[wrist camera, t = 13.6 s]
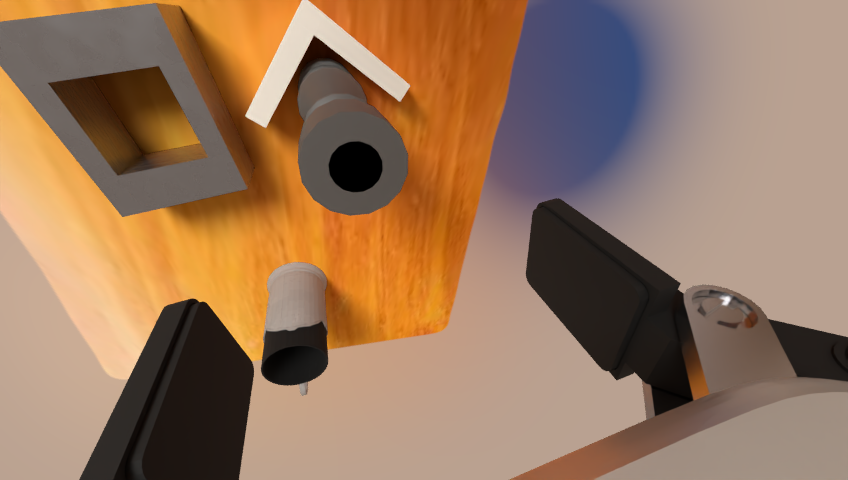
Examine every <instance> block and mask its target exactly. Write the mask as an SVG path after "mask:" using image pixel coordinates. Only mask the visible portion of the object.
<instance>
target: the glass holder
mask: <svg viewBox="0 0 848 480" xmlns="http://www.w3.org/2000/svg"><path fill="white" fill-rule="evenodd" d="M326 286H327V279H326V276H325V274H324V273H323V272H322V270H320V269H319V268H318V267H316V266H314V265H312V264H308V263H303V262H294V263H288V264H285V265H283V266H281V267H279V268H277V269H276V270H274V271H273V272H272V273H271V275H270V276H269V279H268V282H267V288H268V291H269V299H268V307H267V315H266V322H265V330H264V337H263V341H264V350H263V357H262V366H261V372H262V375H263V376H264V377H265V378H266V379H267V380H268V381H270V382H272V383H275V384H278V385H297V384H299V386H300V393H301V395H302V396H303V395H306V394H307V390H308V381H311V380H313V379H315V378H316V377H318V376H319V375H321V374H322V373H323V372H324V370H325V369H326V367H327V365H328V351H327V334H328V331H327V317H326V303H325V289H326Z"/></svg>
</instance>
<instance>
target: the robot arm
mask: <svg viewBox="0 0 848 480" xmlns="http://www.w3.org/2000/svg"><path fill="white" fill-rule="evenodd" d="M526 278H527V281H528V282H529V284H530V285H531V287H532V288H533V289H534V290H535V291H536V292H537V294H538V295H539V296H540V297H541V298H542V300H543V301H544V302H545V303H546V304H547V305H548V307H549V308H550V309H551V310H552V311H553V312H554V314H555V315H556V316H557V317H558V318H559V319H560V321H561V322H562V323H563V324H564V325H565V326H566V328H567V329H568V330H569V331H570V332H571V333H572V335H573V336H574V337H575V338H576V339H577V341H578V342H579V343H580V344H581V345H582V347H583V348H584V349H585V350H586V351H587V352H588V354H589V355H590V356H591V357H592V358H593V360H594V361H595V362H596V363H597V364H598V365H599V366H600V367H601V368H602V369H603V370H605V371H609V372H610V373H611V374H612V375H613V377H614V378H615V379H616V380H619V379H621V378H624V377H626V376H629V375H631V374H633V373H634V372H635V373H636V374H637V375H638V376H639V377H640V378H641V379H642V384H643V393H644V401H645V410H646V418H647V420H645V421H643V422H641V423H638V424H636V425H634V426H632V427H629V428H627V429H625V430H622V431H620V432H618V433H616V434H613V435H611V436H608V437H606V438H604V439H602V440H599V441H597V442H595V443H592V444H590V445H588V446H585V447H583V448H581V449H579V450H576V451H574V452H572V453H569V454H567V455H565V456H563V457H560V458H558V459H555V460H553V461H551V462H549V463H546V464H544V465H542V466H539V467H537V468H535V469H533V470H530V471H528V472H526V473H524V474H521V475H519V476H517V477H514V478H512V479H510V480H848V337H844V336H840V335H836V334H831V333H827V332H822V331H818V330H814V329H809V328H805V327H800V326H796V325H792V324H787V323H783V322H779V321H774V320H770V319H768V318H767V316H766V315H765V314H764V312H763V311H762V310H761V308H760V307H759V306H757V305H756V304H755V303H754V302H752V301H751V300H750V299H748V298H746V297H745V296H742V295H741V294H739V293H737V292H734V291H732V290H729V289H727V288H722V287H718V286H713V285H698V286H693V287H691V288H689V289H687V290H686V292H685V293H684V294H683V293H682V292H680V291H679V290H678V288H679V285H680V283H679V282H678V281H677V280H675V279H674V278H672V277H671V276H669V275H668V274H667V273H665V272H664V271H662V270H661V269H659V268H658V267H657V266H655V265H654V264H652V263H651V262H649V261H648V260H647V259H645V258H644V257H642V256H641V255H639V254H638V253H637V252H635V251H634V250H632V249H631V248H629V247H628V246H627V245H625V244H624V243H622V242H621V241H620V240H618V239H617V238H615V237H614V236H612V235H611V234H610V233H608V232H607V231H605V230H604V229H602V228H601V227H599V226H598V225H597V224H595V223H594V222H592V221H591V220H589V219H588V218H587V217H585V216H584V215H582V214H581V213H580V212H578V211H577V210H575V209H574V208H572V207H571V206H569V205H568V204H567V203H565V202H564V201H562V200H561V199H553V200H549V201H545V202H542V203H539V204H538V206H537V209H535V210H534V211H533V215H532V224H531V233H530V242H529V252H528V259H527V268H526ZM253 377H254V368H253V364H252V361H251V360H250V358H249V357H248V356H247V355H246V353H245V352H244V351H243V349H242V348H241V347H240V345H239V344H238V343H237V342H236V340H235V339H234V338H233V336H232V335H231V334H230V332H229V331H228V330H227V329H226V327H225V326H224V325H223V323H222V322H221V321H220V319H219V318H218V317H217V316H216V314H215V313H214V312H213V310H212V309H211V308H210V307H209V305H208V304H207V303H206V302H199V301H198V300H196V299H188V300H185V301H181V302H178V303H174V304H170V305H167V306H166V307H164V309H163V310H162V312H161V314H160V316H159V318H158V320H157V322H156V324H155V326H154V328H153V330H152V332H151V334H150V337H149V339H148V341H147V343H146V345H145V347H144V349H143V351H142V353H141V355H140V357H139V359H138V361H137V363H136V365H135V367H134V369H133V371H132V373H131V375H130V377H129V379H128V382H127V383H126V386H125V388H124V390H123V392H122V394H121V396H120V398H119V400H118V402H117V404H116V406H115V408H114V410H113V412H112V414H111V416H110V418H109V420H108V422H107V424H106V427H105V428H104V431H103V433H102V435H101V437H100V439H99V441H98V443H97V445H96V447H95V449H94V451H93V453H92V455H91V457H90V459H89V461H88V463H87V465H86V467H85V469H84V471H83V473H82V475H81V477H80V480H239V474H240V467H241V460H242V453H243V446H244V439H245V432H246V425H247V417H248V411H249V404H250V396H251V390H252V384H253Z"/></svg>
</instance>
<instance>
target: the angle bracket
mask: <svg viewBox="0 0 848 480" xmlns="http://www.w3.org/2000/svg"><path fill="white" fill-rule="evenodd" d="M314 35H315V36H316V37H317V38H318V39H320V40H321V41H322V42H324V43H325V44H326V45H327V46H329V47H330V48H331V49H333V50H334V51H335V52H336V53H338V54H339V55H340V56H342V57H343V58H344V59H345V60H347V61H348V62H349V63H351V64H352V65H353V66H354V67H356V68H357V69H358V70H360V71H361V72H362V73H363V74H365V75H366V76H367V77H369V78H370V79H371V80H372V81H374V82H375V83H376V84H378V85H379V86H380V87H381V88H383V89H384V90H385V91H387V92H388V93H389V94H390V95H392V96H393V97H394V98H396V99H397V100H398V101H399V102H400V101H401V100H402V98H403V97H404V95H405V94H406V92H407V90H408V89H409V87H410V85H409V84H408V83H407V82H406V81H404V80H403V79H402V78H401V77H400V76H398V75H397V74H396V73H395V72H394V71H392V70H391V69H390V68H389V67H388V66H386V65H385V64H384V63H383V62H382V61H380V60H379V59H378V58H377V57H376V56H374V55H373V54H372V53H371V52H370V51H368V50H367V49H366V48H365V47H364V46H362V45H361V44H360V43H359V42H358V41H356V40H355V39H354V38H353V37H352V36H350V35H349V34H348V33H347V32H346V31H344V30H343V29H342V28H341V27H340V26H338V25H337V24H336V23H335V22H334V21H332V20H331V19H330V18H329V17H328V16H326V15H325V14H324V13H323V12H321V11H320V10H319V9H318V8H317V7H315V6H314V5H313V4H312V3H311V2H309V1H308V0H302V1H301V3H300V5H299V7H298V9H297V11H296V14H295V16H294V18H293V19H292V21H291V23H290V26H289V28H288V30H287V32H286V34H285V36H284V38H283V40H282V42H281V44H280V46H279V48H278V50H277V52H276V54H275V56H274V58H273V60H272V62H271V64H270V66H269V68H268V70H267V72H266V74H265V77H264V79H263V81H262V83H261V85H260V87H259V89H258V91H257V93H256V95H255V97H254V99H253V101H252V103H251V105H250V107H249V109H248V111H247V113H246V115H245V117H247V118H249V119H251V120H252V121H254V122H256V123H258V124H260V125H261V126H263V127H265V128H266V127H267V125H268V123H269V121H270V119H271V117H272V115H273V113H274V111H275V109H276V107H277V105H278V104H279V102H280V100H281V98H282V96H283V94H284V92H285V90H286V88H287V86H288V84H289V82H290V80H291V79H292V77H293V75H294V73H295V71H296V69H297V67H298V65H299V63H300V61H301V59H302V57H303V55H304V54H305V52H306V50H307V48H308V46H309V44H310V42H311V40H312V38H313V36H314Z"/></svg>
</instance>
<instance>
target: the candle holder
mask: <svg viewBox="0 0 848 480" xmlns="http://www.w3.org/2000/svg"><path fill="white" fill-rule="evenodd" d="M298 92H299V94H298V98H297V101H298V107H299V113H300V115H301V117H302V119H303V120H304V123H303V127H302V131H301V135H300V139H299V147H298V164H299V169H300V175H301V180H302V183H303V185H304V186H305V188H306V189H307V190H308V192H309V193H310V195H311V196H312V198H313V199H314V200H315V201H317V202H318V203H320V204H321V205H323V206H324V207H326V208H327V209H329V210H330V211H333V212H337V213H342V214H346V215H350V216H351V215H360V214H369V213H372V212H374V211H376V210H378V209H380V208H382V207H384V206H386V205H388V204H389V202H390V201H391V200H392V199H393V198H394V197H395V196H396V195H397V194H398V193H399V192H400V191H401V188H402V186H403V184H404V181H405V179H406V177H407V174H408V153H407V151H406V148H405V146H404V143H403V141H402V138H401V136H400V134H399V133H398V132H397V131H396V130H395V129H394V127H393V126H392V125H391V124H390V123H389V122H388V120H387V119H386V118H385V117H384V116H383V115H382V114H381V113H380V112H379V111H378V110H377V109H376V108H375V107H373V106H371V105H368V104H367V98H366V96H365V94H364V92H363V89H362V87H361V85H360V84H359V83H358V82H357V81H356V80H355V79H354V78H353V76H352V75H351V74H350V73H349V72H348V71H347V69H346V68H345V67H344V66H343V65H342V64H341V63H339V62H337V61H335V60H332V59H330V58H317V59H314V60H312V61H310V62H308V63H307V64H306V65H305V67H304V68H303V69H302V70H301V73H300V77H299V81H298Z"/></svg>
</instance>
